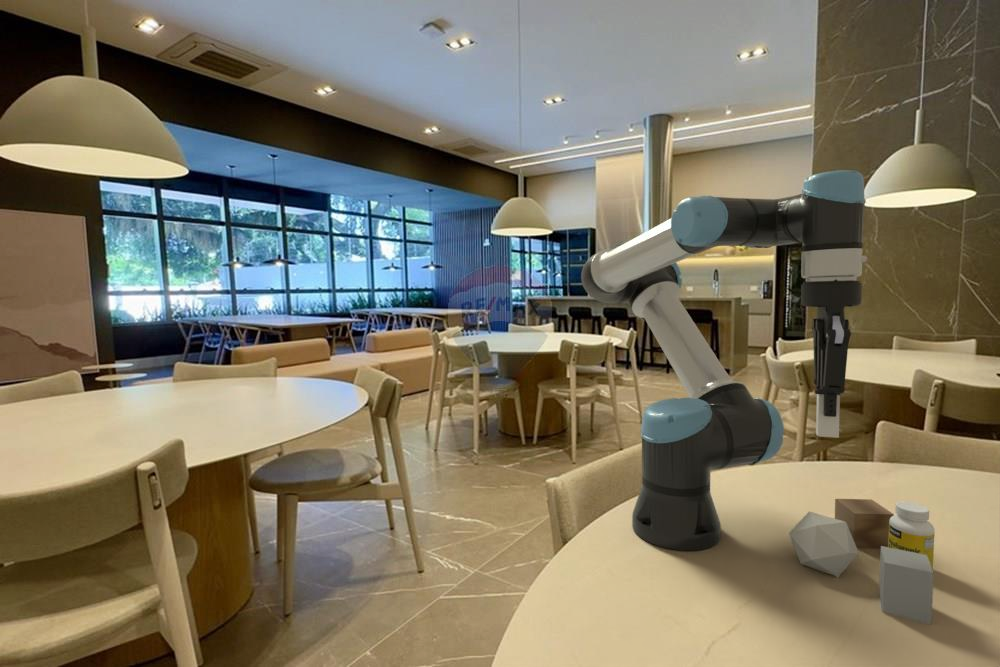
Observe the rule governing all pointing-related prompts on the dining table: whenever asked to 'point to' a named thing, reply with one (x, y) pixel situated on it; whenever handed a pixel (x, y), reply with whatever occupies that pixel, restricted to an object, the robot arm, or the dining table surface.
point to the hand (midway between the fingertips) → (827, 435)
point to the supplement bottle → (912, 529)
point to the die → (823, 543)
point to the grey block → (906, 584)
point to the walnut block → (865, 521)
